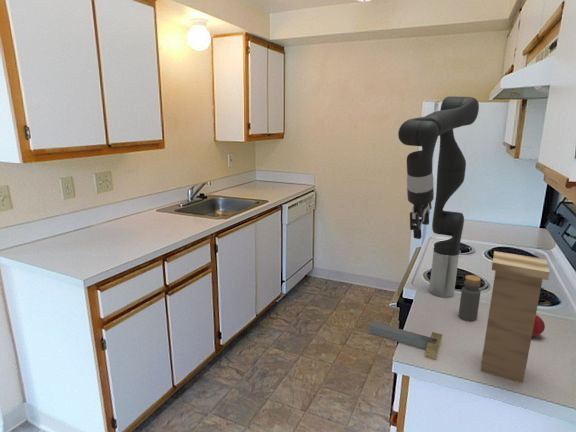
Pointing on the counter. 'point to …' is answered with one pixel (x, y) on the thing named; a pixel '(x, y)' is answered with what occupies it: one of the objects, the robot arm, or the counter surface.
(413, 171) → the robot arm
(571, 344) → the counter surface
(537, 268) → the wooden stand
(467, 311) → the bottle
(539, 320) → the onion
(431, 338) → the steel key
